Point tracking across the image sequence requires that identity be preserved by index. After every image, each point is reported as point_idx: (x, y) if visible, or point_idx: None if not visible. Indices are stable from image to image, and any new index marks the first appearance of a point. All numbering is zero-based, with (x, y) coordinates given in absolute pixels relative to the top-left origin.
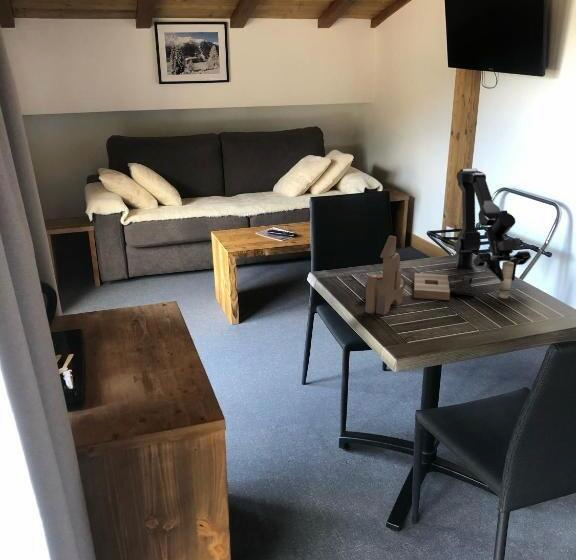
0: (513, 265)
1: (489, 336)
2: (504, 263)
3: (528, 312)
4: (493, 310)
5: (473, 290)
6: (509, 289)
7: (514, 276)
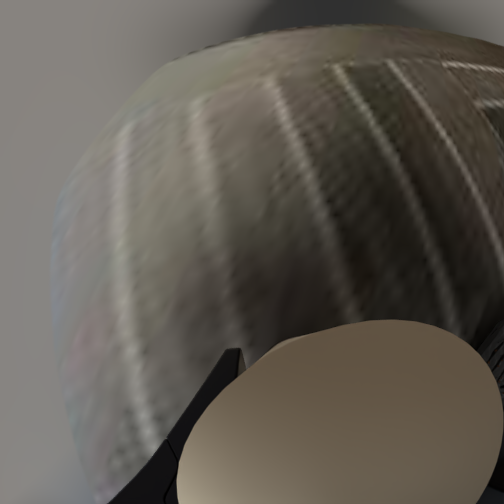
0: (224, 391)
1: (414, 40)
2: (483, 441)
3: (244, 144)
4: (407, 170)
5: (489, 362)
6: (276, 344)
7: (215, 372)
